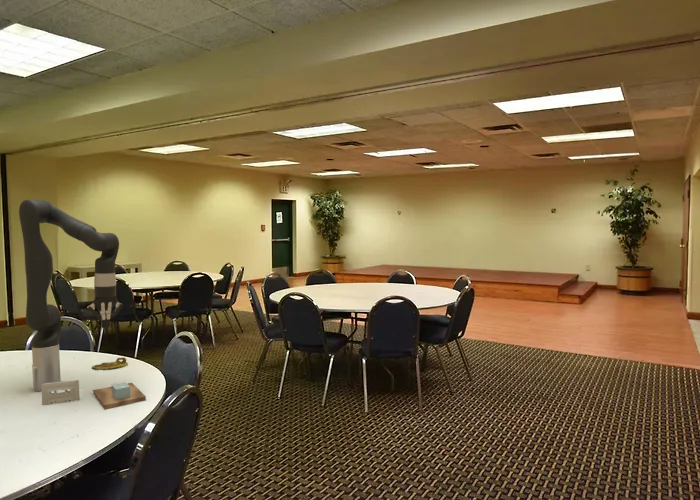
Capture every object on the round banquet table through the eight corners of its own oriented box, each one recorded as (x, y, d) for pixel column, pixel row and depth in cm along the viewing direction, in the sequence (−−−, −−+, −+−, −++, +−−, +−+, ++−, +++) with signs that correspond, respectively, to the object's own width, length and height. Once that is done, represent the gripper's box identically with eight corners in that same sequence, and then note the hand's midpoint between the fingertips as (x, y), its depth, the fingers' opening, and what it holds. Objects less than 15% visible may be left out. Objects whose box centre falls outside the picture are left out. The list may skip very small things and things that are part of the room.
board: (104, 409, 171) (103, 397, 171) (93, 393, 187) (92, 383, 186) (145, 400, 179) (145, 388, 179) (131, 386, 195) (131, 375, 195)
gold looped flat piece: (90, 374, 215) (127, 370, 220) (89, 364, 214) (127, 360, 219) (92, 366, 223) (128, 362, 229) (92, 357, 222) (127, 353, 228)
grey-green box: (111, 395, 181) (111, 383, 181) (125, 392, 184) (125, 381, 184) (116, 400, 175) (115, 388, 175) (130, 397, 178) (130, 385, 178)
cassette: (79, 399, 181) (79, 379, 181) (79, 400, 180) (78, 380, 179) (42, 404, 177) (41, 383, 176) (41, 405, 175) (40, 385, 175)
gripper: (121, 282, 194) (121, 325, 195) (84, 284, 186) (84, 328, 187) (125, 284, 188) (126, 328, 189) (87, 286, 180) (88, 332, 181)
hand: (105, 328), depth 188 cm, fingers closed
